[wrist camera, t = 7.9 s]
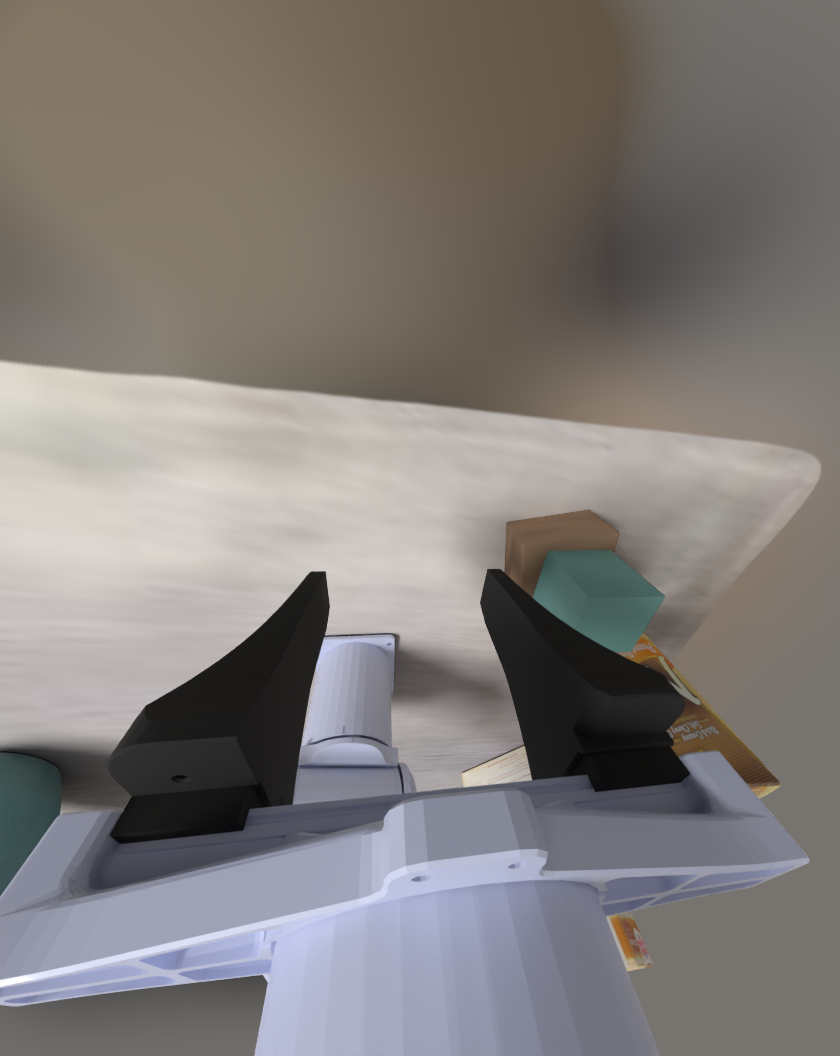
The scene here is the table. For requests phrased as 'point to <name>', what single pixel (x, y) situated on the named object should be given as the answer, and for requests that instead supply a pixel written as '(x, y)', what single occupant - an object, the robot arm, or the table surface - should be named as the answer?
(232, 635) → the table surface
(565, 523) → the block
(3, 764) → the green bowl
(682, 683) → the candy box
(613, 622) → the teal cube
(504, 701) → the table surface
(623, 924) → the coffeecake box
